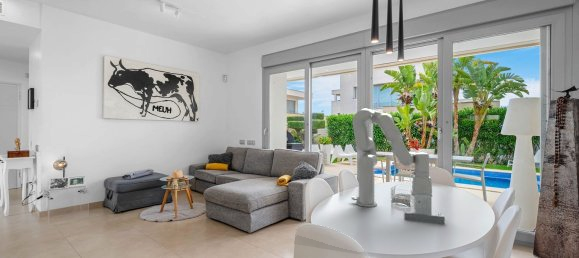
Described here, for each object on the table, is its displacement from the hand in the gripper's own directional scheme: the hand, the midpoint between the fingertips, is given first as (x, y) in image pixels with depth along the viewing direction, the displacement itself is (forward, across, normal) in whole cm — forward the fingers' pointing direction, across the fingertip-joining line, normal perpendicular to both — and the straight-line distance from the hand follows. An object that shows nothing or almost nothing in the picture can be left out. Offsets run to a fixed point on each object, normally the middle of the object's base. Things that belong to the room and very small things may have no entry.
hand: (421, 206), depth 159 cm
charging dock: (+3, 0, -10) cm, 11 cm away
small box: (+3, 0, -4) cm, 6 cm away
